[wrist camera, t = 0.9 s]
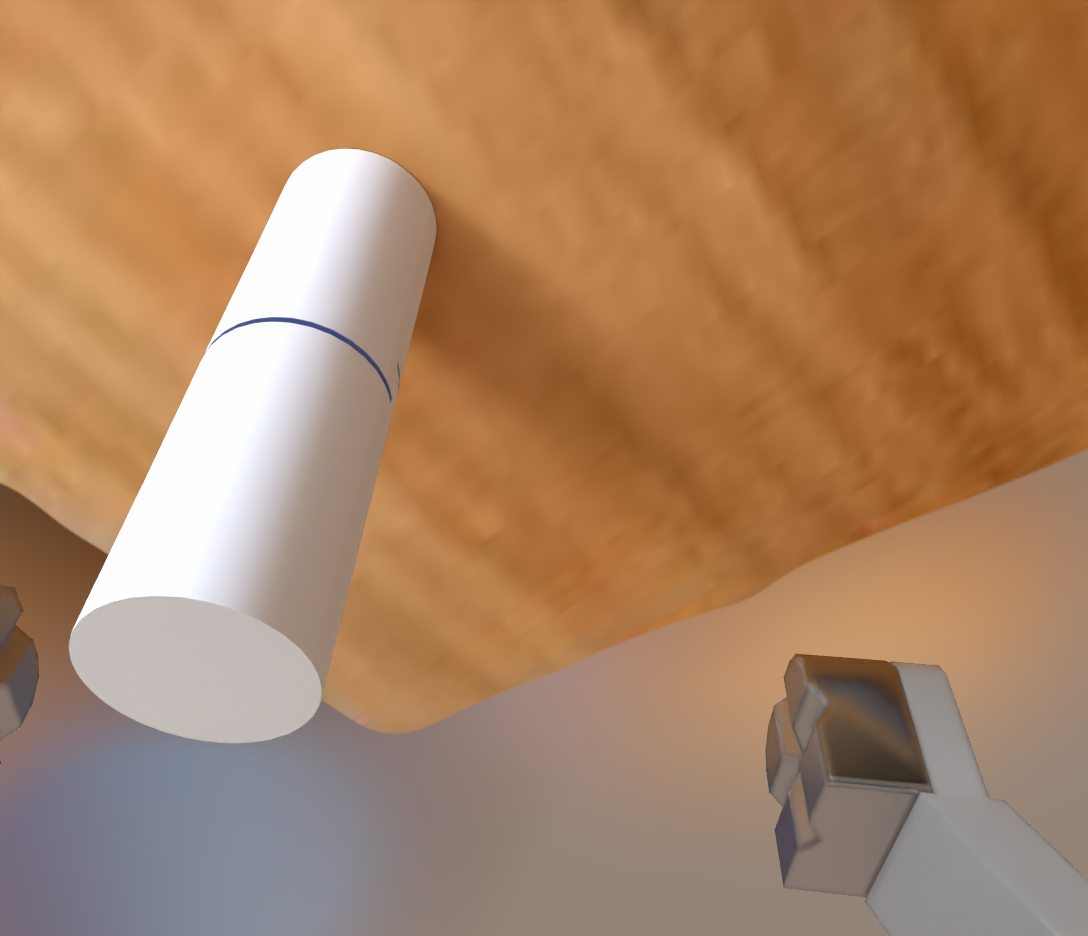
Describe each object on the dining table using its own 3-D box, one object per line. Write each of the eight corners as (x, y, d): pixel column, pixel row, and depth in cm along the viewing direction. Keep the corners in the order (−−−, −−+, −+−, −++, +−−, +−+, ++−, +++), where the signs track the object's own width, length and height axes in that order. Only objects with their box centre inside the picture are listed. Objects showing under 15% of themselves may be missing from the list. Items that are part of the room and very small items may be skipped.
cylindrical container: (404, 132, 45) (255, 580, 27) (457, 271, 49) (359, 731, 31) (254, 167, 46) (16, 613, 28) (319, 299, 51) (150, 752, 33)
